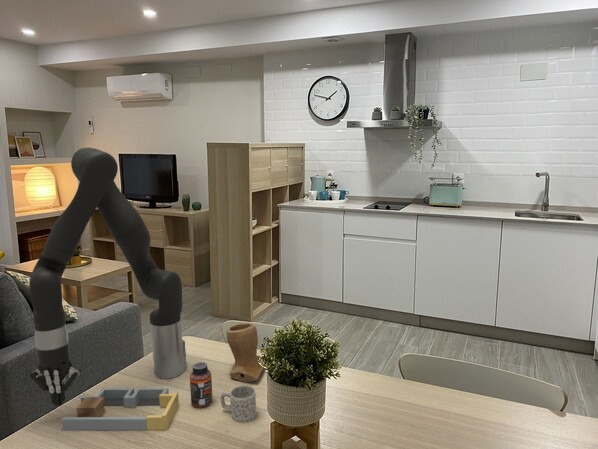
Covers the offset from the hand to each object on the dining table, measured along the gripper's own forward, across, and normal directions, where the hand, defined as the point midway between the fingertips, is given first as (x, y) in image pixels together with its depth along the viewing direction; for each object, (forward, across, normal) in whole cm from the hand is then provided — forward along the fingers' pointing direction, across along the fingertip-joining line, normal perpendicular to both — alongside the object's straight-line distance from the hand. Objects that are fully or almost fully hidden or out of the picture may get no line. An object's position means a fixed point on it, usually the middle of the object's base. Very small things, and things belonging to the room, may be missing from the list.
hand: (59, 404), depth 123 cm
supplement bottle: (+4, +36, +7) cm, 37 cm away
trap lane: (+4, +15, +2) cm, 15 cm away
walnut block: (+4, +8, +1) cm, 9 cm away
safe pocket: (+4, +28, 0) cm, 28 cm away
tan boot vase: (+4, +46, +24) cm, 53 cm away
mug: (+4, +47, +2) cm, 48 cm away
